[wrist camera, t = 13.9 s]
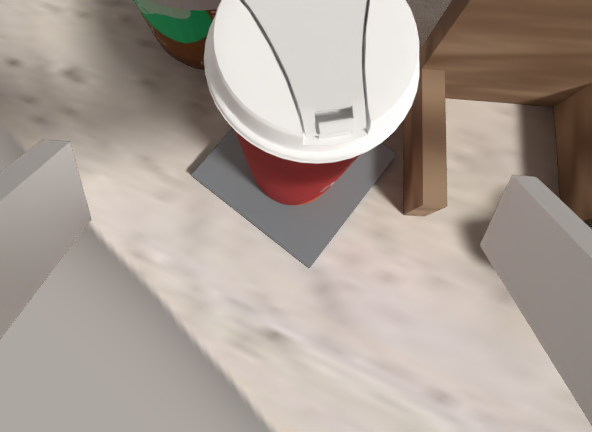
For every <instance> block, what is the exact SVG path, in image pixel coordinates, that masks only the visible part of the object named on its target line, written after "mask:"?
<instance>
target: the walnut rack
mask: <svg viewBox="0 0 592 432" xmlns="http://www.w3.org/2000/svg"><path fill="white" fill-rule="evenodd" d="M445 98H450V99H463V100H476V101H488V102H501V103H514V104H526V105H539V106H552V107H554V118H555V132H556V146H557V160H558V174H559V188H560V200H561V201H562V202H563V203H564V204H566V205H567V206H568V207H569V208H570V209H571V210H572V211H573V212H574V213H575V214H576V215H577V216H578V217H579V218H580V219H581V220H582V221H583V222H585V223H586V224H587V225H591V224H592V0H452V1H451V3H450V5H449V6H448V8H447V9H446V11H445V12H444V14H443V15H442V17H441V19H440V20H439V22H438V23H437V25H436V26H435V28H434V30H433V31H432V33H431V34H430V36H429V37H428V39H427V40H426V42H425V44H424V45H423V47H422V48H421V50H420V51H419V81H418V87H417V92H416V95H415V98H414V101H413V103H412V106H411V108H410V110H409V111H408V113H407V115H406V117H405V119H404V203H403V215H413V216H426V215H429V214H431V213H433V212H435V211H438V210H440V209H442V208H445V207H447V167H446V113H445Z"/></svg>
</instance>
